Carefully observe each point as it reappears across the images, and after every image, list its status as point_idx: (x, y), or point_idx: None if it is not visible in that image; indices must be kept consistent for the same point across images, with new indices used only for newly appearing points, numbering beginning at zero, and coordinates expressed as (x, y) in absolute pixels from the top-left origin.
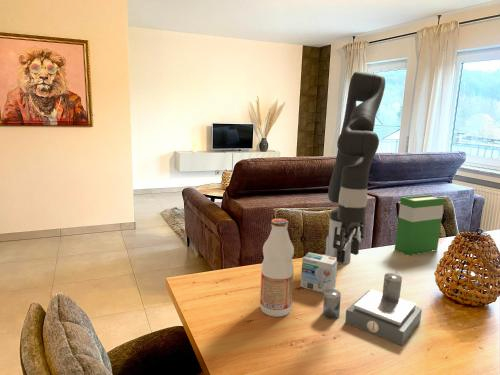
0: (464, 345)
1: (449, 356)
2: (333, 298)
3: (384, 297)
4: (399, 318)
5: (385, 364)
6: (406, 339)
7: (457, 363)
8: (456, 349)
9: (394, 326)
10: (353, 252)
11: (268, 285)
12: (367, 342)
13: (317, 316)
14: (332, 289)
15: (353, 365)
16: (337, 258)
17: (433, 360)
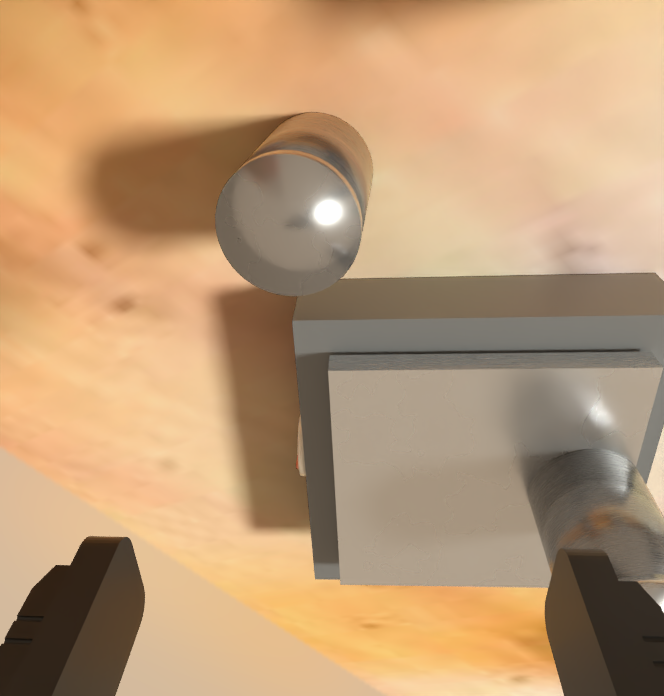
0: (497, 650)
1: (384, 631)
2: (237, 266)
3: (541, 483)
4: (372, 574)
5: (152, 515)
6: None
7: (361, 650)
8: (449, 639)
9: (329, 544)
10: (561, 595)
11: None
12: (225, 426)
13: (223, 111)
14: (345, 199)
15: (36, 444)
16: (32, 604)
17: (317, 606)
